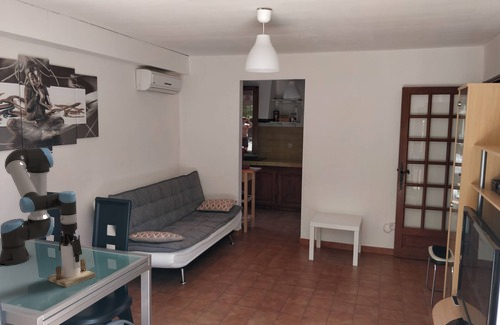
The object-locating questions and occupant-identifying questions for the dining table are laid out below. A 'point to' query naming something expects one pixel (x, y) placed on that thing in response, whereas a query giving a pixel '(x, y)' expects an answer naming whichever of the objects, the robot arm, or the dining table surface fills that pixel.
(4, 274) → the dining table surface
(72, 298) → the dining table surface
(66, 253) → the cup
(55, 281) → the peg board
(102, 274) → the dining table surface
